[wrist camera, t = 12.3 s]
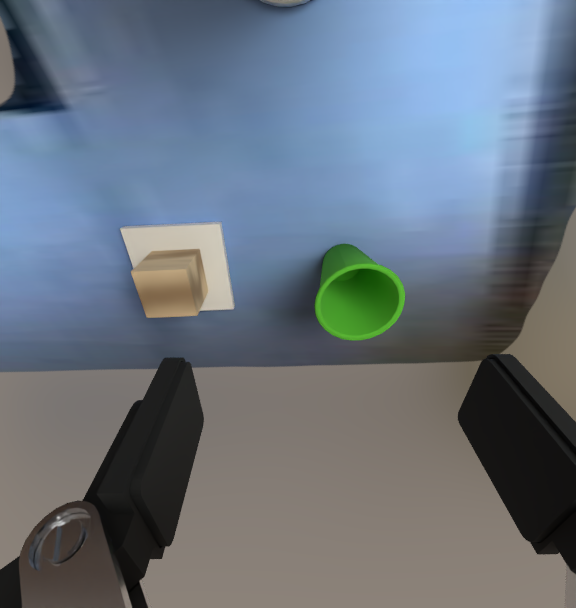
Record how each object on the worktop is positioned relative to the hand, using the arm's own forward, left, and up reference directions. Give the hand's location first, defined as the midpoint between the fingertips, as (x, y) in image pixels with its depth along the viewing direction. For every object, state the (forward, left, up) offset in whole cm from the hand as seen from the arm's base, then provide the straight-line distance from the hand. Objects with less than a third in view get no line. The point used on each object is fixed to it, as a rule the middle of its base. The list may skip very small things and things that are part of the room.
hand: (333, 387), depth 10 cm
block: (+9, -15, -29) cm, 34 cm away
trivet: (+9, -16, -30) cm, 35 cm away
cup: (+9, +5, -30) cm, 31 cm away
